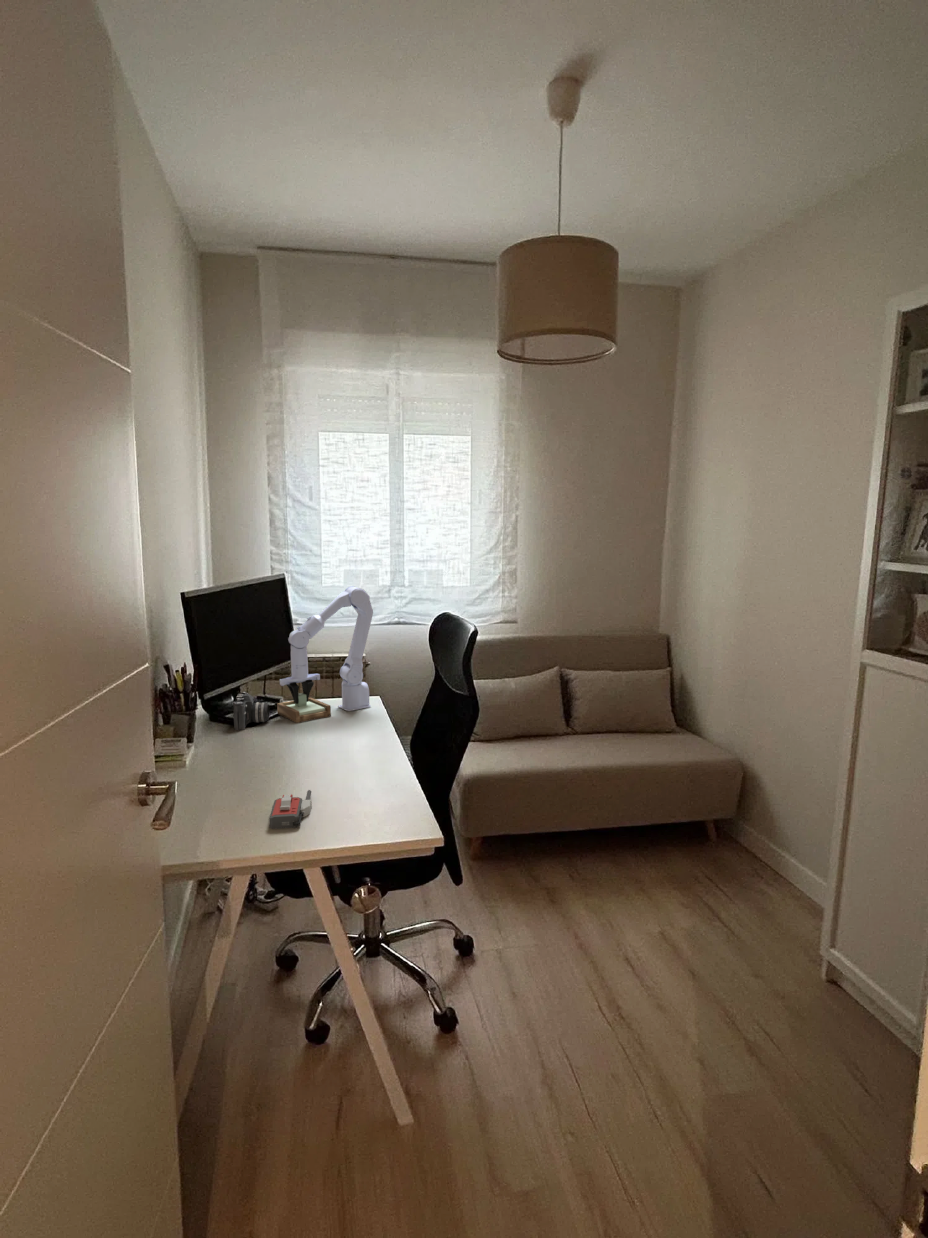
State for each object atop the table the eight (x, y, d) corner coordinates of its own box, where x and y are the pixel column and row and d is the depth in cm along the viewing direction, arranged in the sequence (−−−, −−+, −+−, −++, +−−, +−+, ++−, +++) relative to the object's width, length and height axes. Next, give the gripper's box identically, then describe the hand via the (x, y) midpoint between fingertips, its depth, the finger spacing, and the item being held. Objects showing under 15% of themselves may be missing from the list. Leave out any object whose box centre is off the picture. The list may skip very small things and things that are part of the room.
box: (311, 707, 263) (310, 697, 262) (330, 716, 251) (330, 705, 250) (277, 713, 254) (277, 703, 254) (296, 723, 243) (296, 712, 242)
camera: (266, 729, 237) (264, 699, 235) (232, 731, 235) (230, 701, 233) (270, 717, 250) (269, 689, 249) (238, 719, 249) (236, 691, 247)
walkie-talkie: (308, 830, 160) (314, 796, 180) (307, 811, 160) (313, 779, 179) (267, 832, 159) (278, 798, 179) (266, 813, 158) (277, 781, 178)
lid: (309, 703, 260) (308, 690, 259) (325, 710, 251) (324, 696, 250) (283, 708, 254) (282, 694, 253) (298, 715, 244) (298, 701, 244)
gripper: (313, 660, 259) (314, 696, 261) (275, 665, 250) (276, 703, 252) (322, 663, 254) (323, 700, 256) (283, 668, 245) (285, 707, 247)
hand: (301, 702), depth 254 cm, fingers closed on lid, 3 cm apart
